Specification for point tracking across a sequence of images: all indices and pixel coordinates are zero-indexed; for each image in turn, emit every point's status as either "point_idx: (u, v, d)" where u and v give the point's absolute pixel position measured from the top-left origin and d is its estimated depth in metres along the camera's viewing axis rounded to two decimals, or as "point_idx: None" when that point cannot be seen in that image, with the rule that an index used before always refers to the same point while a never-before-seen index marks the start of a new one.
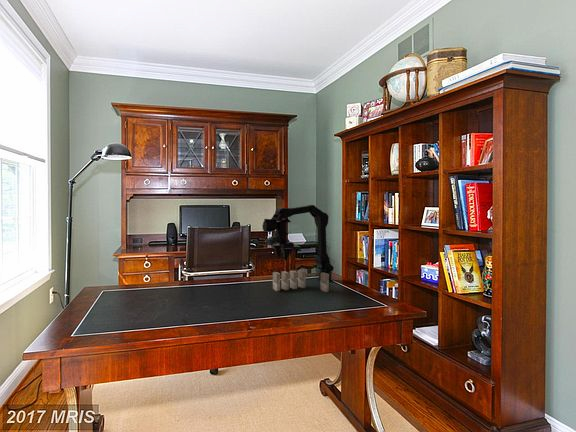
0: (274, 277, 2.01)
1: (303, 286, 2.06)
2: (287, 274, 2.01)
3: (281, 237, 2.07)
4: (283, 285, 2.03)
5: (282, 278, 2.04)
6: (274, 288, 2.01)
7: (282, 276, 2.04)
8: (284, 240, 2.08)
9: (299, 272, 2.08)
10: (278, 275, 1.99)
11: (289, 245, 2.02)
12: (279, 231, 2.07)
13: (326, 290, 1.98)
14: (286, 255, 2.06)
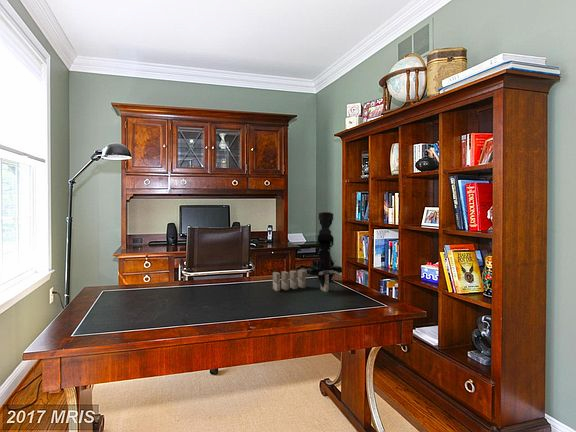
0: (274, 277, 2.01)
1: (303, 286, 2.06)
2: (287, 274, 2.01)
3: (319, 263, 2.00)
4: (283, 285, 2.03)
5: (282, 278, 2.04)
6: (274, 288, 2.01)
7: (282, 276, 2.04)
8: (320, 267, 1.98)
9: (299, 272, 2.08)
10: (278, 275, 1.99)
11: (309, 271, 1.96)
12: None
13: (326, 290, 1.98)
14: (321, 281, 1.99)
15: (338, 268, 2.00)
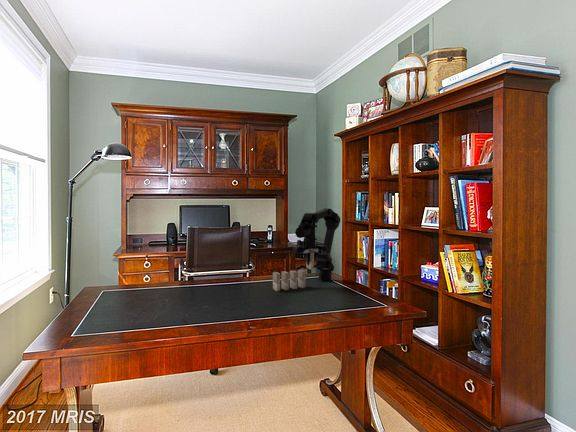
0: (274, 277, 2.01)
1: (303, 286, 2.06)
2: (287, 274, 2.01)
3: (304, 242, 2.09)
4: (283, 285, 2.03)
5: (282, 278, 2.04)
6: (274, 288, 2.01)
7: (282, 276, 2.04)
8: (305, 245, 2.08)
9: (299, 272, 2.08)
10: (278, 275, 1.99)
11: (294, 250, 2.05)
12: None
13: (311, 268, 2.08)
14: (306, 259, 2.08)
15: (323, 247, 2.10)
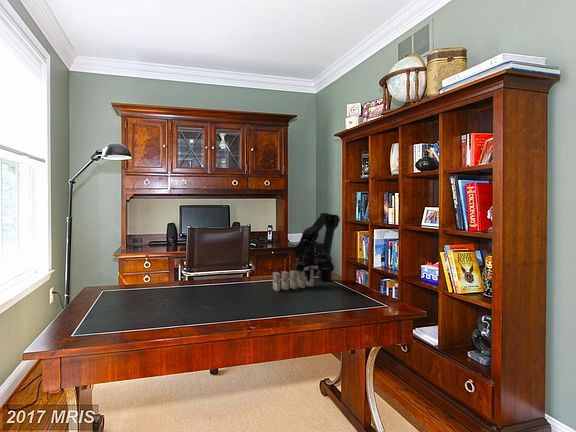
0: (274, 277, 2.01)
1: (303, 286, 2.06)
2: (287, 274, 2.01)
3: (304, 259, 2.10)
4: (283, 285, 2.03)
5: (282, 278, 2.04)
6: (274, 288, 2.01)
7: (282, 276, 2.04)
8: (305, 262, 2.08)
9: (298, 272, 2.08)
10: (278, 275, 1.99)
11: (294, 267, 2.06)
12: None
13: (311, 285, 2.08)
14: (306, 276, 2.09)
15: (323, 264, 2.10)
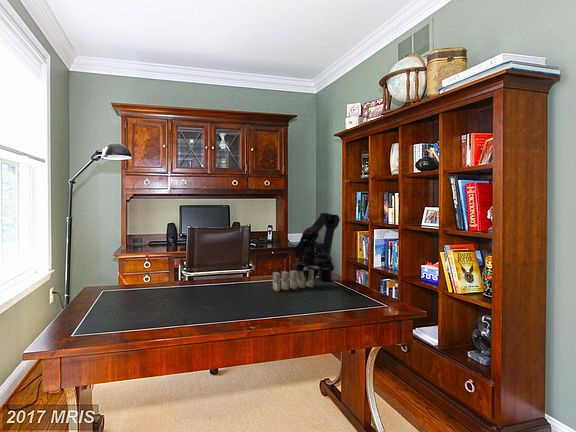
0: (274, 277, 2.01)
1: (303, 286, 2.06)
2: (287, 274, 2.01)
3: (304, 259, 2.10)
4: (283, 285, 2.03)
5: (282, 278, 2.04)
6: (274, 288, 2.01)
7: (282, 276, 2.04)
8: (305, 262, 2.08)
9: (297, 272, 2.07)
10: (278, 275, 1.99)
11: (294, 267, 2.06)
12: None
13: (311, 285, 2.08)
14: (305, 276, 2.09)
15: (323, 264, 2.10)
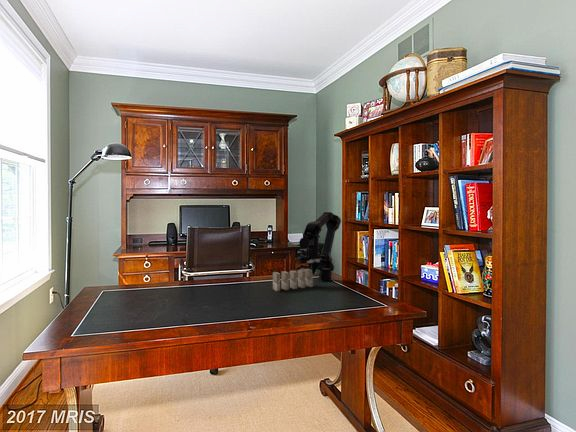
0: (274, 277, 2.01)
1: (303, 286, 2.06)
2: (287, 274, 2.01)
3: (307, 252, 2.10)
4: (283, 285, 2.03)
5: (282, 278, 2.04)
6: (274, 288, 2.01)
7: (282, 276, 2.04)
8: (308, 255, 2.09)
9: (299, 272, 2.08)
10: (278, 275, 1.99)
11: (298, 259, 2.06)
12: None
13: (311, 285, 2.08)
14: (311, 269, 2.10)
15: (326, 257, 2.11)
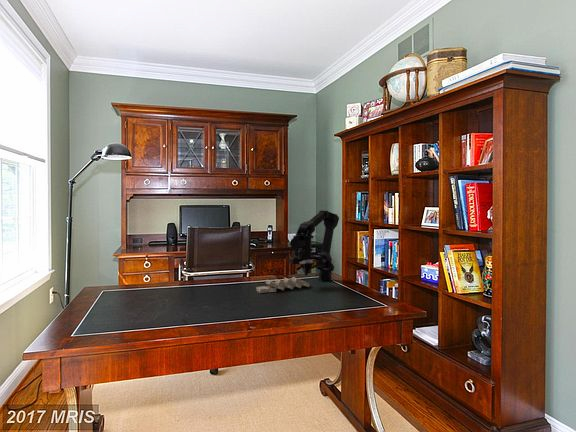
0: None
1: (300, 286, 2.05)
2: (271, 283, 1.97)
3: (300, 252, 2.08)
4: None
5: None
6: None
7: None
8: (301, 256, 2.07)
9: None
10: (261, 290, 1.95)
11: (290, 260, 2.04)
12: None
13: (308, 285, 2.07)
14: (304, 270, 2.08)
15: (319, 257, 2.09)
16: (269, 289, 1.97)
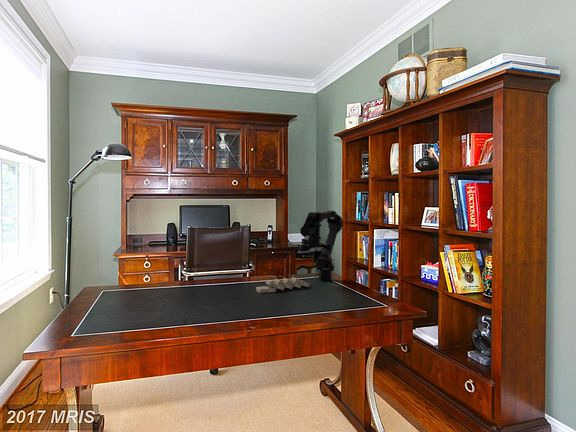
0: None
1: (299, 286, 2.05)
2: (271, 283, 1.97)
3: (309, 240, 2.13)
4: None
5: None
6: None
7: None
8: (310, 244, 2.11)
9: None
10: (261, 290, 1.95)
11: (299, 248, 2.08)
12: None
13: (308, 285, 2.07)
14: (312, 257, 2.12)
15: (327, 245, 2.13)
16: (269, 289, 1.97)
